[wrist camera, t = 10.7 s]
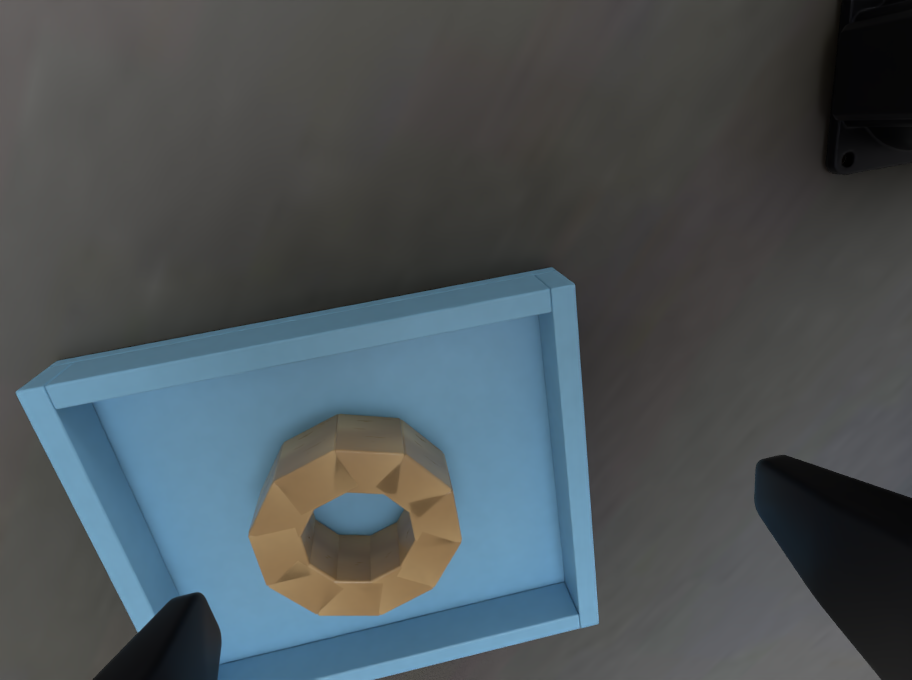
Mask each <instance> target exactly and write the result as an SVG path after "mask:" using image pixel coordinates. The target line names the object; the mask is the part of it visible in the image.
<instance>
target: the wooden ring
mask: <svg viewBox="0 0 912 680" xmlns="http://www.w3.org/2000/svg"><path fill="white" fill-rule="evenodd" d="M345 493H366V494H384V495H385V496H387V497H388V498H390V499H391V500H392V501H394V502H395V503H397V504H398V505H400V506H401V507H402V508H404V510H403V512H402V514H401V516H400V518H399V519H398V521H397V522H396V523H394V524H392V525H390V526H388V527H386V528H384V529H382V530H380V531H378V532H376V533H374V534H372V535H371V536H369V535H339V534H337V533H336V532H334V531H332V530H331V529H329V528H328V527H326V526H325V525H323V524H322V523H320V522H319V521H317V520H316V519H315V516H314V513H313V511H314V509H316V508H318V507H320V506H322V505H324V504H326V503H328V502H330V501H332V500H334V499H335V498H337V497H339V496H341V495H343V494H345ZM248 537H249V540H250V543H251V546H252V548H253V551H254V554H255V556H256V559H257V562H258V564H259V567H260V570H261V572H262V575H263V578H264V581H265V583H266V585H267V586H268V587H269V588H271V589H273V590H274V591H276V592H278V593H279V594H281V595H283V596H285V597H286V598H288V599H290V600H292V601H293V602H295V603H297V604H299V605H300V606H302V607H304V608H306V609H307V610H309V611H311V612H313V613H314V614H318V615H319V616H379V615H383V614H385V613H387V612H389V611H391V610H393V609H395V608H397V607H398V606H400V605H402V604H404V603H406V602H408V601H410V600H412V599H414V598H416V597H418V596H420V595H422V594H424V593H426V592H428V591H430V590H432V589H433V587H435V586H436V584H437V582H438V581H439V579H440V577H441V576H442V574H443V572H444V571H445V569H446V567H447V566H448V564H449V563H450V561H451V559H452V558H453V556H454V554H455V553H456V551H457V549H458V548H459V546H460V544H461V541H462V536H461V530H460V525H459V519H458V514H457V508H456V503H455V498H454V492H453V488H452V484H451V479H450V475H449V471H448V467H447V463H446V459H445V455H444V453H443V452H442V451H441V450H440V449H438V448H437V447H436V446H435V445H433V444H432V443H431V442H430V441H428V440H427V439H426V438H425V437H423V436H422V435H421V434H419V433H418V432H417V431H416V430H414V429H413V428H412V427H411V426H409V425H408V424H407V423H406V422H404V421H403V420H400V418H391V417H377V416H363V415H349V414H339V415H338V414H336V415H335V416H333V417H331V418H329V419H327V420H325V421H323V422H321V423H319V424H318V425H316V426H314V427H312V428H310V429H308V430H306V431H304V432H302V433H300V434H299V435H297V436H295V437H293V438H291V439H289V440H287V441H285V442H284V444H283V445H282V446H281V448H280V450H279V453H278V455H277V457H276V459H275V461H274V463H273V465H272V468H271V470H270V472H269V474H268V476H267V478H266V480H265V483H264V485H263V487H262V489H261V492H260V495H259V499H258V502H257V505H256V509H255V512H254V516H253V519H252V522H251V526H250V529H249V535H248Z"/></svg>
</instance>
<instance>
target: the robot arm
mask: <svg viewBox="0 0 912 680" xmlns="http://www.w3.org/2000/svg"><path fill="white" fill-rule="evenodd" d="M845 154H846V159H845V162H844V163H843V164H842V161H841V160H842V157H843V156H844V155H845ZM907 163H912V0H842V5H841V15H840V25H839V35H838V45H837V55H836V65H835V75H834V85H833V95H832V105H831V115H830V125H829V135H828V145H827V155H826V167H827V169H828V171H829V172H831V173H833V174H846V175H847V174H852V173H858V172H863V171H869V170H874V169H880V168H885V167H891V166H896V165H902V164H907ZM754 502H755V507H756V510H757V512H758V514H759V516H760V517H761V519H762V520H763V522H764V523H765V525H766V526H767V528H768V529H769V531H770V532H771V534H772V535H773V537H774V538H775V540H776V541H777V543H778V544H779V546H780V547H781V548H782V550H783V551H784V553H785V554H786V556H787V557H788V559H789V560H790V562H791V563H792V565H793V566H794V568H795V569H796V571H797V572H798V574H799V575H800V577H801V578H802V580H803V581H804V583H805V584H806V586H807V587H808V588H809V590H810V591H811V593H812V594H813V595H814V597H815V598H816V600H817V601H818V602H819V603H820V605H821V606H822V607H823V609H824V610H825V611H826V612H827V614H828V615H829V616H830V617H831V619H832V620H833V621H834V622H835V623H836V625H837V626H838V627H839V628H840V630H841V631H842V632H843V633H844V634H845V636H846V637H847V638H848V639H849V641H850V642H851V643H852V644H853V645H854V647H855V648H856V649H857V650H858V652H859V653H860V654H861V655H862V656H863V658H864V659H865V660H866V661H867V663H868V664H869V665H870V666H871V667H872V669H873V670H874V671H875V672H876V674H877V675H878V676H879V677H880V678H881V680H912V498H910V497H907V496H904V495H901V494H898V493H895V492H892V491H889V490H886V489H883V488H880V487H878V486H875V485H872V484H869V483H866V482H863V481H860V480H857V479H854V478H851V477H848V476H845V475H842V474H839V473H836V472H833V471H831V470H828V469H825V468H822V467H819V466H816V465H813V464H810V463H807V462H804V461H801V460H798V459H795V458H792V457H789V456H786V455H778V456H774V457H769V458H765V459H762V460H760V461H759V462H758V463H757V465H756V474H755V494H754ZM221 646H222V637H221V631H220V628H219V626H218V623H217V621H216V619H215V617H214V615H213V613H212V611H211V608H210V606H209V604H208V602H207V600H206V598H205V596H204V595H203V594H202V593H200V592H194V593H190V594H186V595H181V596H177V597H175V598H172V599H171V600H170V601H169V602H167V603H166V604H165V606H164V607H163V608H162V609H161V610H160V611H159V612H158V613H157V614H156V615H155V616H154V617H153V618H152V619H151V620H150V621H149V622H148V623H147V624H146V625H145V626H144V627H143V628H142V629H141V630H140V631H139V632H138V633H137V634H136V635H135V636H134V637H133V638H132V640H131V641H130V642H129V643H128V644H127V645H126V646H125V647H124V648H123V649H122V650H121V651H120V652H119V653H118V654H117V655H116V656H115V657H114V658H113V659H112V660H111V661H110V662H109V663H108V664H107V665H106V666H105V667H104V668H103V669H102V670H101V671H100V672H99V674H98V675H97V676H96V677H95V678H94V679H93V680H217V679H218V671H219V663H220V655H221Z"/></svg>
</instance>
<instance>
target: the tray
mask: <svg viewBox="0 0 912 680" xmlns="http://www.w3.org/2000/svg"><path fill="white" fill-rule="evenodd" d="M16 395H17V397H18V399H19V401H20V403H21V405H22V407H23V409H24V411H25V413H26V415H27V416H28V418H29V420H30V422H31V424H32V426H33V428H34V430H35V432H36V434H37V436H38V438H39V440H40V442H41V444H42V446H43V448H44V450H45V452H46V454H47V456H48V458H49V460H50V461H51V463H52V465H53V467H54V469H55V471H56V473H57V475H58V477H59V479H60V481H61V483H62V485H63V487H64V489H65V491H66V493H67V495H68V497H69V499H70V501H71V503H72V505H73V506H74V508H75V510H76V512H77V514H78V516H79V518H80V520H81V522H82V524H83V526H84V528H85V530H86V532H87V534H88V536H89V538H90V540H91V542H92V544H93V546H94V548H95V550H96V551H97V553H98V555H99V557H100V559H101V561H102V563H103V565H104V567H105V569H106V571H107V573H108V575H109V577H110V579H111V581H112V583H113V585H114V587H115V589H116V591H117V593H118V594H119V596H120V598H121V600H122V602H123V604H124V606H125V608H126V610H127V612H128V614H129V616H130V618H131V620H132V622H133V624H134V626H135V628H136V630H137V632H139V631H140V630H141V629H142V628H143V627H144V626H145V625H146V624H147V623H148V622H149V621H150V620H151V619H152V618H153V617H154V616H155V615H156V614H157V613H158V612H159V611H160V610H161V609H162V608H163V607H164V606H165V604H166V603H167V602H169V601H170V600H171V599H172V598H175V597H177V596H181V595H186V594H190V593H194V592H200V593H202V594H203V595H204V596H205V598H206V600H207V602H208V604H209V606H210V608H211V611H212V613H213V615H214V617H215V619H216V621H217V623H218V626H219V628H220V631H221V637H222V646H221V655H220V663H219V671H218V679H217V680H374V679H378V678H382V677H386V676H390V675H394V674H398V673H402V672H406V671H410V670H414V669H418V668H422V667H426V666H430V665H434V664H438V663H442V662H446V661H450V660H454V659H458V658H462V657H466V656H470V655H474V654H478V653H482V652H486V651H490V650H494V649H498V648H502V647H507V646H511V645H515V644H519V643H523V642H527V641H531V640H535V639H539V638H543V637H547V636H551V635H555V634H559V633H563V632H567V631H571V630H575V629H579V628H580V627H581V628H584V627H588V626H592V625H596V624H599V617H598V603H597V588H596V574H595V560H594V546H593V532H592V518H591V503H590V489H589V475H588V461H587V447H586V433H585V418H584V404H583V390H582V376H581V362H580V348H579V333H578V319H577V305H576V291H575V284H574V283H573V282H571V281H570V280H569V279H567V278H566V277H565V276H563V275H562V274H561V273H559V272H558V271H556V270H555V269H554V268H552V267H550V268H545V269H540V270H534V271H529V272H524V273H518V274H513V275H508V276H503V277H497V278H492V279H487V280H481V281H476V282H471V283H466V284H460V285H455V286H450V287H444V288H439V289H434V290H429V291H423V292H418V293H413V294H407V295H402V296H397V297H392V298H386V299H381V300H376V301H371V302H365V303H360V304H355V305H349V306H344V307H339V308H334V309H328V310H323V311H318V312H312V313H307V314H302V315H297V316H291V317H286V318H281V319H275V320H270V321H265V322H260V323H254V324H249V325H244V326H238V327H233V328H228V329H223V330H217V331H212V332H207V333H202V334H196V335H191V336H186V337H180V338H175V339H170V340H165V341H159V342H154V343H149V344H143V345H138V346H133V347H128V348H122V349H117V350H112V351H106V352H101V353H96V354H91V355H85V356H80V357H75V358H69V359H64V360H59V361H56V362H55V363H53V364H52V365H51V366H49V367H48V368H47V369H46V370H44V371H43V372H42V373H40V374H39V375H37V376H36V377H35V378H33V379H32V380H31V381H29V382H28V383H27V384H25V385H24V386H23V387H21V388H20V389H19V390H17V391H16ZM336 414H338V415H339V414H349V415H363V416H377V417H391V418H400V420H403V421H404V422H406V423H407V424H408V425H409V426H411V427H412V428H413V429H414V430H416V431H417V432H418V433H419V434H421V435H422V436H423V437H425V438H426V439H427V440H428V441H430V442H431V443H432V444H433V445H435V446H436V447H437V448H438V449H440V450H441V451H442V452H443V453H444V455H445V459H446V463H447V467H448V471H449V475H450V479H451V484H452V488H453V492H454V498H455V503H456V508H457V514H458V519H459V525H460V530H461V536H462V541H461V544H460V546H459V548H458V549H457V551H456V553H455V554H454V556H453V558H452V559H451V561H450V563H449V564H448V566H447V567H446V569H445V571H444V572H443V574H442V576H441V577H440V579H439V581H438V582H437V584H436V586H435V587H433V589H432V590H430V591H428V592H426V593H424V594H422V595H420V596H418V597H416V598H414V599H412V600H410V601H408V602H406V603H404V604H402V605H400V606H398V607H397V608H395V609H393V610H391V611H389V612H387V613H385V614H383V615H379V616H319V615H318V614H314V613H313V612H311V611H309V610H307V609H306V608H304V607H302V606H300V605H299V604H297V603H295V602H293V601H292V600H290V599H288V598H286V597H285V596H283V595H281V594H279V593H278V592H276V591H274V590H273V589H271V588H269V587H268V586H267V585H266V583H265V581H264V578H263V575H262V572H261V570H260V567H259V564H258V562H257V559H256V556H255V554H254V551H253V548H252V546H251V543H250V540H249V537H248V535H249V529H250V526H251V522H252V519H253V516H254V512H255V509H256V505H257V502H258V499H259V495H260V492H261V489H262V487H263V485H264V483H265V480H266V478H267V476H268V474H269V472H270V470H271V468H272V465H273V463H274V461H275V459H276V457H277V455H278V453H279V450H280V448H281V446H282V445H283V444H284V442H285V441H287V440H289V439H291V438H293V437H295V436H297V435H299V434H300V433H302V432H304V431H306V430H308V429H310V428H312V427H314V426H316V425H318V424H319V423H321V422H323V421H325V420H327V419H329V418H331V417H333V416H335V415H336ZM403 510H404V508H402V507H401V506H400V505H398V504H397V503H395V502H394V501H392V500H391V499H390V498H388V497H387V496H385V495H384V494H366V493H345V494H343V495H341V496H339V497H337V498H335V499H334V500H332V501H330V502H328V503H326V504H324V505H322V506H320V507H318V508H316V509H314V511H313V513H314V516H315V519H316V520H317V521H319V522H320V523H322V524H323V525H325V526H326V527H328V528H329V529H331V530H332V531H334V532H336V533H337V534H339V535H369V536H371V535H372V534H374V533H376V532H378V531H380V530H382V529H384V528H386V527H388V526H390V525H392V524H394V523H396V522H397V521H398V519H399V518H400V516H401V514H402V512H403Z"/></svg>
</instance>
